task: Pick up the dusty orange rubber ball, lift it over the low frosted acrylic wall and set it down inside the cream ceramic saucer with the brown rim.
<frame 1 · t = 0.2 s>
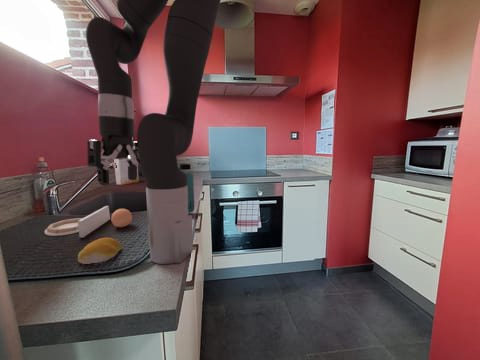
hand: (119, 182, 54), 17 cm above the worktop, tool pointing down, fingers open, 8 cm apart
cracker box: (127, 183, 153), on the worktop
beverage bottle: (186, 215, 84), on the worktop
bread roll: (101, 257, 52), on the worktop
ball: (121, 217, 70), point 3 cm above the worktop
saucer: (69, 228, 69), on the worktop
wall: (96, 227, 70), on the worktop
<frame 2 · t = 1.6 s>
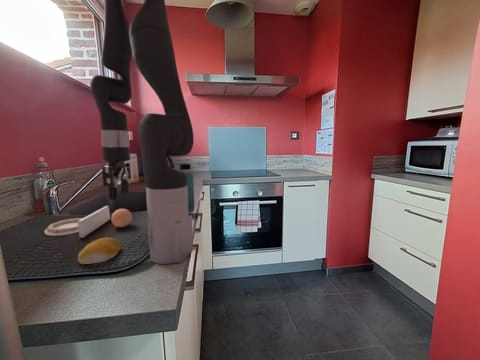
hand: (119, 196, 69), 10 cm above the worktop, tool pointing down, fingers open, 8 cm apart
nothing on the worktop moved.
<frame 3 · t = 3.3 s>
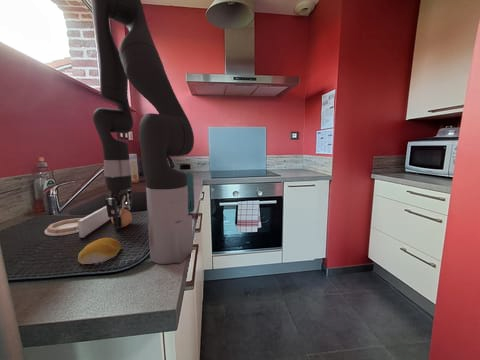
hand: (122, 224, 71), 1 cm above the worktop, tool pointing down, fingers closed on ball, 6 cm apart
ball: (121, 217, 70), point 3 cm above the worktop, touching gripper
everything else where it was.
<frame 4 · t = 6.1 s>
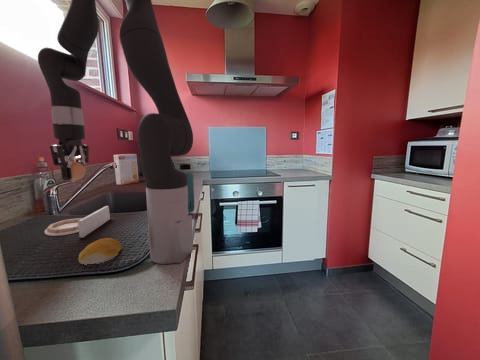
hand: (74, 177, 68), 16 cm above the worktop, tool pointing down, fingers closed on ball, 6 cm apart
ball: (73, 171, 67), point 18 cm above the worktop, touching gripper
everything else where it was.
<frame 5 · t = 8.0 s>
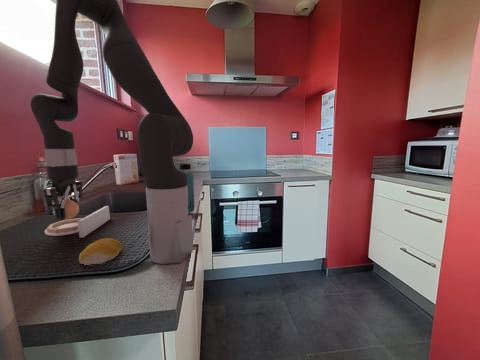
hand: (68, 215, 69), 4 cm above the worktop, tool pointing down, fingers closed on ball, 6 cm apart
ball: (67, 209, 68), point 6 cm above the worktop, touching gripper
everything else where it was.
when the fingers open (3 cm above the worktop, at t = 9.2 s): ball drops 1 cm, resting on saucer.
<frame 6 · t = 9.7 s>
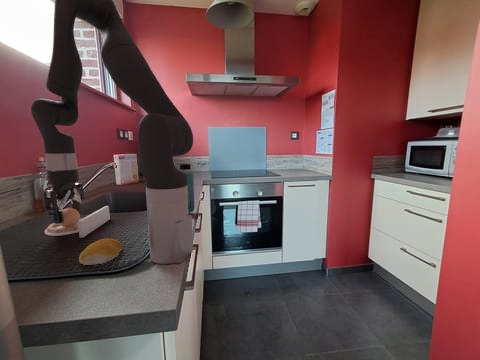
hand: (68, 218, 69), 3 cm above the worktop, tool pointing down, fingers open, 8 cm apart
ball: (68, 217, 69), point 4 cm above the worktop, touching saucer
everything else where it was.
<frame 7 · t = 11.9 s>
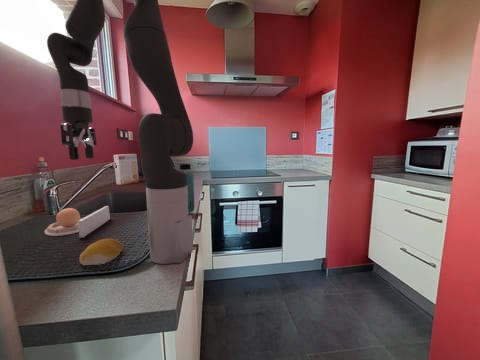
hand: (82, 158, 69), 22 cm above the worktop, tool pointing down, fingers open, 8 cm apart
nothing on the worktop moved.
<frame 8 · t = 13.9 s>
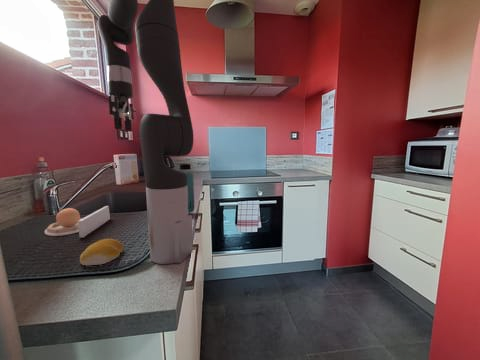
hand: (123, 130, 77), 32 cm above the worktop, tool pointing down, fingers open, 8 cm apart
at the end: ball 0.0 cm off-centre on the saucer, point 3.6 cm above the saucer's base; ball touching saucer; the gripper is holding nothing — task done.
